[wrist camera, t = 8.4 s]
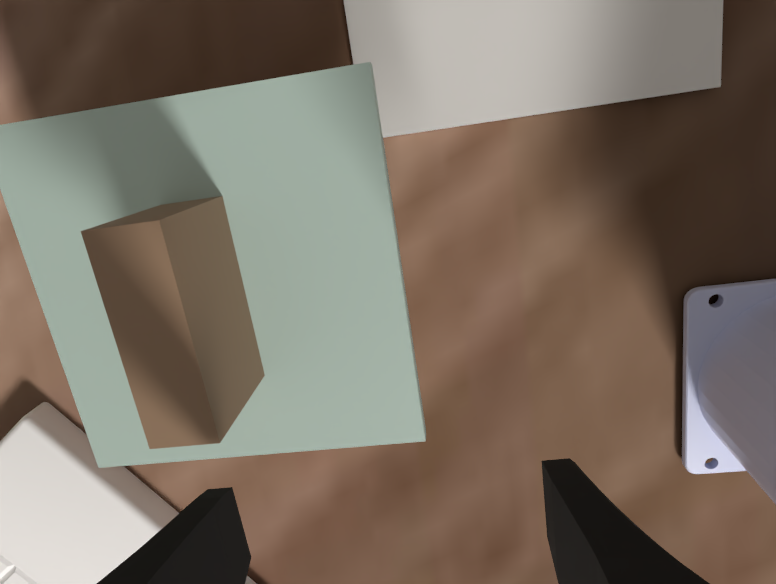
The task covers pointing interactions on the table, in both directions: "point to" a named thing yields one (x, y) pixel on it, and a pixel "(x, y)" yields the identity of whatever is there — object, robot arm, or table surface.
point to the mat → (528, 55)
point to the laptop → (68, 506)
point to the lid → (221, 269)
